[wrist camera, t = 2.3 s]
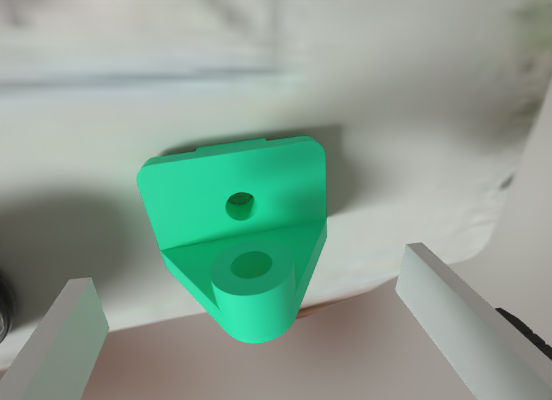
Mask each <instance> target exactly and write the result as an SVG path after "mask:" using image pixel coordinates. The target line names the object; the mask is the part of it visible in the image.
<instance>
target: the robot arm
mask: <svg viewBox="0 0 552 400" xmlns="http://www.w3.org/2000/svg"><path fill="white" fill-rule="evenodd" d="M395 291H396V292H397V294H398V295H399V296H400V297H401V299H402V300H403V302H404V303H405V304H406V306H407V307H408V308H409V309H410V311H411V312H412V314H413V315H414V316H415V318H416V319H417V320H418V321H419V323H420V324H421V325H422V327H423V328H424V329H425V331H426V332H427V333H428V335H429V336H430V337H431V339H432V340H433V341H434V343H435V344H436V345H437V347H438V348H439V349H440V351H441V352H442V353H443V354H444V356H445V357H446V358H447V360H448V361H449V362H450V364H451V365H452V366H453V368H454V369H455V370H456V372H457V373H458V374H459V376H460V377H461V378H462V380H463V381H464V382H465V384H466V385H467V386H468V388H469V389H470V390H471V391H472V393H473V394H474V396H475V397H476V398H477V400H552V348H551V347H550V346H549V345H546V344H545V341H544V340H542V339H541V338H540V337H539V336H538V335H537V334H534V333H533V332H532V330H531V329H530V328H529V327H527V326H526V325H525V324H524V323H523V322H522V321H521V320H519V319H518V318H517V317H515V316H513V315H512V314H510V313H508V312H507V311H505V310H503V309H501V308H495V309H494V308H493V307H492V306H491V305H490V304H489V303H488V302H486V301H485V300H484V299H483V298H482V297H481V296H480V295H479V294H478V293H476V292H475V291H474V290H473V289H472V288H471V287H470V286H469V285H468V284H467V283H466V282H465V281H463V280H462V279H461V278H460V277H459V276H458V275H457V274H456V273H455V272H454V271H452V270H451V269H450V268H449V267H448V266H447V265H446V264H445V263H444V262H443V261H441V260H440V259H439V258H438V257H437V256H436V255H435V254H434V253H433V252H432V251H431V250H429V249H428V248H427V247H426V246H425V245H424V244H423V243H413V244H406V248H405V252H404V256H403V260H402V265H401V269H400V273H399V277H398V281H397V285H396V289H395ZM108 330H109V326H108V323H107V320H106V317H105V314H104V312H103V309H102V306H101V303H100V300H99V297H98V295H97V292H96V289H95V286H94V283H93V280H92V278H91V277H88V278H78V279H69V281H68V282H67V284H66V285H65V286H64V288H63V289H62V291H61V292H60V294H59V295H58V297H57V298H56V300H55V301H54V303H53V304H52V306H51V307H50V309H49V310H48V311H47V313H46V314H45V316H44V317H43V319H42V320H41V322H40V323H39V325H38V326H37V328H36V329H35V331H34V332H33V334H32V335H31V336H30V338H29V339H28V341H27V342H26V344H25V345H24V347H23V348H22V350H21V351H20V353H19V354H18V356H17V357H16V358H15V360H14V361H13V363H12V364H11V366H10V367H9V369H8V370H7V372H6V373H5V375H4V376H3V378H2V379H1V381H0V400H80V399H81V396H82V394H83V391H84V389H85V386H86V384H87V381H88V379H89V377H90V374H91V372H92V369H93V367H94V364H95V362H96V359H97V357H98V355H99V352H100V350H101V347H102V345H103V342H104V340H105V337H106V335H107V333H108Z"/></svg>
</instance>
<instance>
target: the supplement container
mask: <svg viewBox="0 0 552 400" xmlns="http://www.w3.org/2000/svg"><path fill="white" fill-rule="evenodd" d="M15 317H16V303H15V299H14V296H13V294H12V292H11V290H10V288H9V287H8V285H7V284H6V283H5V281H4V280H3V279H2V278H1V277H0V343H1V342H2V341H3V340H4V339H5V337H6V336H7V335H8V333H9V332H10V330H11V328H12V326H13V324H14V320H15Z"/></svg>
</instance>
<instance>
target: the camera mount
mask: <svg viewBox="0 0 552 400" xmlns="http://www.w3.org/2000/svg"><path fill="white" fill-rule="evenodd" d="M137 185H138V188H139V190H140V193H141V196H142V199H143V202H144V205H145V208H146V211H147V214H148V217H149V220H150V222H151V225H152V228H153V231H154V234H155V237H156V240H157V243H158V246H159V249H160V252H161V254H162V257H163V260H164V263H165V266H166V268H167V269H168V270H169V271H170V272H171V274H172V275H173V276H174V277H175V278H176V279H177V280H178V281H179V282H180V283H181V284H182V285H183V286H184V287H185V288H186V289H187V290H188V292H189V293H190V294H191V295H192V296H193V297H194V298H195V299H196V300H197V301H198V302H199V303H200V304H201V305H202V306H203V307H204V309H205V310H206V311H207V312H208V313H210V315H211V316H212V317H213V318H214V319H215V320H216V321H217V322H218V323H219V324H220V325H221V326H222V328H223V329H224V330H225V331H226V332H227V333H228V334H229V335H231V336H232V337H233V338H235V339H237V340H239V341H242V342H246V343H262V342H266V341H270V340H272V339H275V338H277V337H279V336H280V335H282V334H283V333H285V332H286V331H287V330H288V329H289V328H290V326H291V325H292V324H293V322H294V320H295V318H296V315H297V313H298V310H299V308H300V305H301V303H302V300H303V297H304V295H305V292H306V290H307V287H308V285H309V282H310V279H311V277H312V274H313V272H314V269H315V266H316V264H317V261H318V259H319V256H320V254H321V251H322V248H323V246H324V243H325V241H326V238H327V212H326V154H325V150H324V148H323V147H322V145H320V144H319V143H318V142H317V141H316V140H314V139H313V138H312V137H309V136H298V137H291V138H284V139H277V140H271V141H266V139H265V138H260V139H253V140H246V141H239V142H232V143H225V144H218V145H211V146H204V147H197V149H196V151H194V152H188V153H181V154H174V155H167V156H160V157H154V158H151V159H149V160H147V161H146V162H145V164H144V165H143V167H142V168H141V170H140V171H139V173H138V175H137ZM239 192H246V193H249V194H251V195H252V198H251V199H250V201H248V202H247V203H245V204H242V205H235V204H232V203H230V202H229V201H228V199H229V197H230V196H232V195H233V194H235V193H239Z"/></svg>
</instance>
